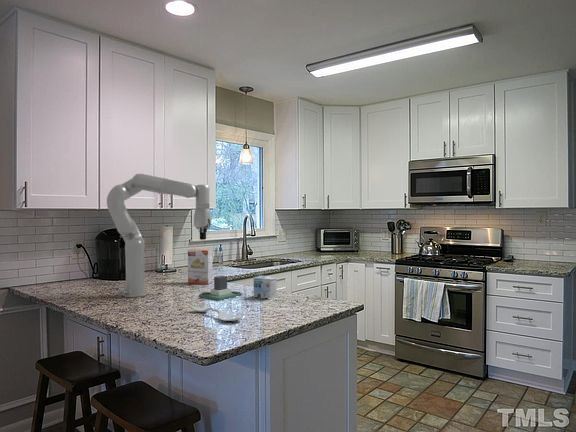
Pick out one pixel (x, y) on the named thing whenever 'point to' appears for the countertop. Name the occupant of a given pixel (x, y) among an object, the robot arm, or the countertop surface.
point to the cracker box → (199, 266)
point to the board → (220, 294)
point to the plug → (220, 282)
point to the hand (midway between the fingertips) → (202, 239)
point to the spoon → (220, 314)
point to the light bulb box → (265, 286)
